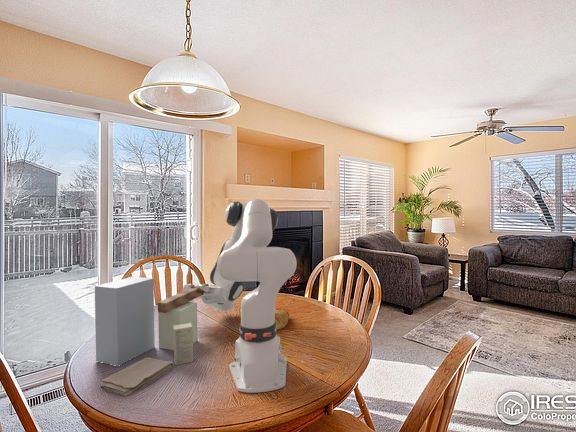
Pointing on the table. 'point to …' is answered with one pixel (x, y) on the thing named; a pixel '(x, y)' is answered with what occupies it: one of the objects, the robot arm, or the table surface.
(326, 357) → the table surface
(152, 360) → the washcloth
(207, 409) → the table surface
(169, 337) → the step block
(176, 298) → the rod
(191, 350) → the skincare box
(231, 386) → the table surface
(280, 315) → the croissant
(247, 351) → the robot arm
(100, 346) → the shelf stand
